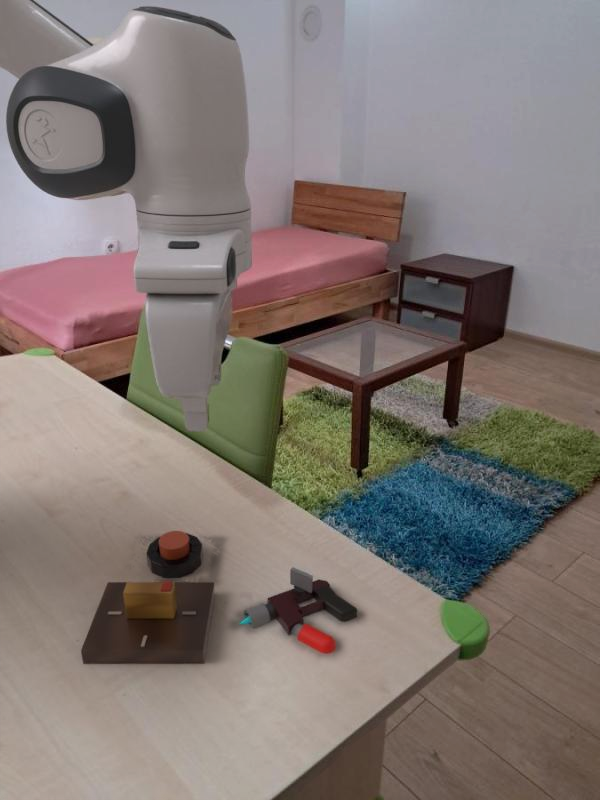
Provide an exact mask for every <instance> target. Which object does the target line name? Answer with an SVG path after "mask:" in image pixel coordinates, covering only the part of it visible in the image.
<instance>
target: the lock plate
mask: <svg viewBox="0 0 600 800" xmlns="http://www.w3.org/2000/svg"><path fill="white" fill-rule="evenodd" d="M127 582H128V581H124V582H123V581H108V582H107V583H106V586H105V588H104V590H103V594H102V596H101V599H100V601H99V604H98V607H97V609H96V611H95V614H94V617H93V619H92V621H91V624H90V626H89V628H88V631H87V634H86V637H85V639H84V641H83V644H82V647H81V649H80V653H81V659H82V664H83V665H204V664H205V660H206V654H207V648H208V641H209V635H210V629H211V622H212V617H213V611H214V610H213V609H214V603H215V597H216V589H215V588H216V586H215V582H214V581H211V582H210V581H209V582H208V581H206V582H205V581H204V582H202V581H199V582H198V581H186V582H185V581H182V582H181V581H173V582H174V583H175V593H176V604H177V610H176V614H175V618H174V619H127V617H126V609H125V602H124V595H123V592H124V589H125V586H126V584H127Z"/></svg>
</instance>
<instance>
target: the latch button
mask: <svg viewBox="0 0 600 800" xmlns="http://www.w3.org/2000/svg"><path fill="white" fill-rule="evenodd" d="M186 533H187V532H184V531H181V530H171V531H168V532H165V533H163V534H162V535H160V536H161V537H160V536H159V537H160V539H159V550H160V556H161V558H164V559H166V560H177V559H180V558H183V557H186V556H187V555H188V554H189V552H190V545H189V536H188V535H187V534H186Z"/></svg>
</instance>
